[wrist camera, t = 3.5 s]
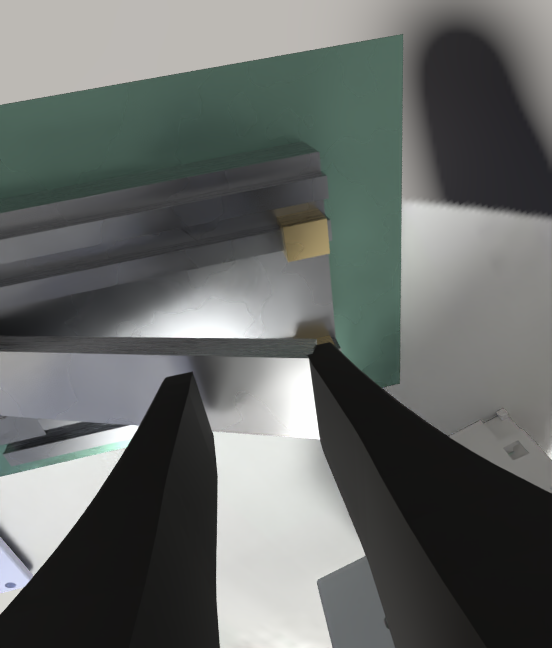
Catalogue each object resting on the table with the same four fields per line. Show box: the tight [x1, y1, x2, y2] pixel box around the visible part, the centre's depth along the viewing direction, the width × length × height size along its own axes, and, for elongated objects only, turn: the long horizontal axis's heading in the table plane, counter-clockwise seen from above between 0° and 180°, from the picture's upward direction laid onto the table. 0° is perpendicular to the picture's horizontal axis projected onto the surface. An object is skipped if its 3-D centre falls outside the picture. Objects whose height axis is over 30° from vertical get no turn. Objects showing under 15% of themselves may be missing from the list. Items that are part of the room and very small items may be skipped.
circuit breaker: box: [317, 408, 552, 648], centre depth 19 cm, size 8×14×15 cm, turn 119°
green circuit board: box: [0, 34, 403, 477], centre depth 14 cm, size 18×13×4 cm
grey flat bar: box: [0, 336, 320, 439], centre depth 11 cm, size 10×3×1 cm, turn 100°
